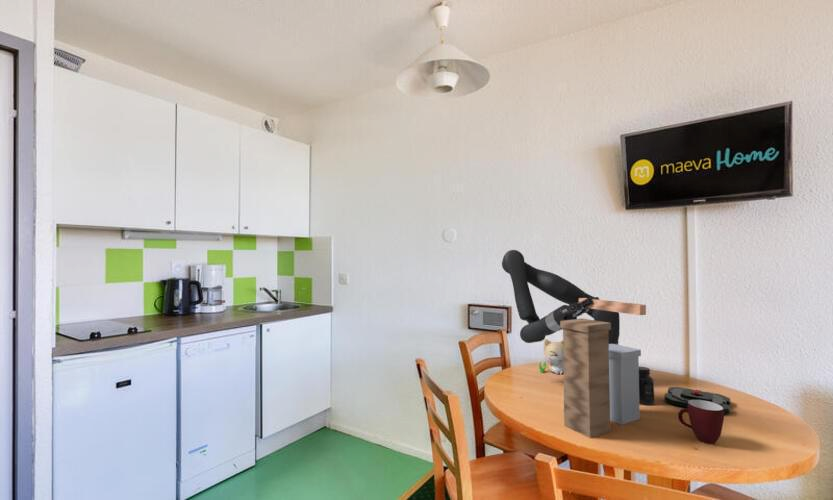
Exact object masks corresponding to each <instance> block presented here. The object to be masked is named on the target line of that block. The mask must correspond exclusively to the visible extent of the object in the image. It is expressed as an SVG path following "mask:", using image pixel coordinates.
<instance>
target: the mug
mask: <svg viewBox="0 0 833 500" xmlns="http://www.w3.org/2000/svg"><path fill="white" fill-rule="evenodd" d="M685 413H686V414H687V415H688V419H689V423H687V422H686V421H685V420H684V419H683V414H685ZM677 418H678V421H679V422H680V424H682V425H683V426H685V427H687V428H689V429H691V430H692V433H693V434H694V436H695V438H696V439H697V440H698V441H699V442H700V441H701V443H703V442H704V443H703V444H706V443H707V444H706V445H715V444H716V443H717V442H718V440H719V439H720V438H721V434H722V430H723V425H724V420H725V413H724V408H723V407H722V406H721V405H719V404H716V403H713V402H709V401H704V400H689V401H688V407H687V408H681V409H680V410H679V411H678V414H677Z"/></svg>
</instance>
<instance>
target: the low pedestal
mask: <svg viewBox="0 0 833 500" xmlns="http://www.w3.org/2000/svg"><path fill="white" fill-rule="evenodd" d="M641 356H642V350H641V349H639V348H636V347H635V348H634V347H630V346H625V345H620V344H618V345H616V344H609V390H610V422H611V421H612V422H614V423H616V424H618V425H621V426H622V425H626V424H629V423H632V422H635V421H637V420H640V418H641V417H640V404H639V357H641Z"/></svg>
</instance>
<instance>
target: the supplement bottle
mask: <svg viewBox="0 0 833 500" xmlns="http://www.w3.org/2000/svg"><path fill="white" fill-rule="evenodd" d="M654 383H655V382H654V378H653V377H652V376H651V368H649V367H647V366H639V405H644V406H651V405H654V404H655V390H654V389H655V384H654Z"/></svg>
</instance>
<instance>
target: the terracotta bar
mask: <svg viewBox="0 0 833 500" xmlns="http://www.w3.org/2000/svg"><path fill="white" fill-rule="evenodd" d="M585 299H587V298H579V302H580V301H584V300H585ZM592 300H593V304H591V305H589V306H587V307H585V308H591V309H598V310H605V311H613V312H619V314H620V313H622V314H628V315H635V316H645V315H646V314H647V305H646V304H640V303H634V302H633V303H632V302H623V301H614V300H607V299H606V300H605V299H600V300H598V299H592ZM646 316H647V315H646Z"/></svg>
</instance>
